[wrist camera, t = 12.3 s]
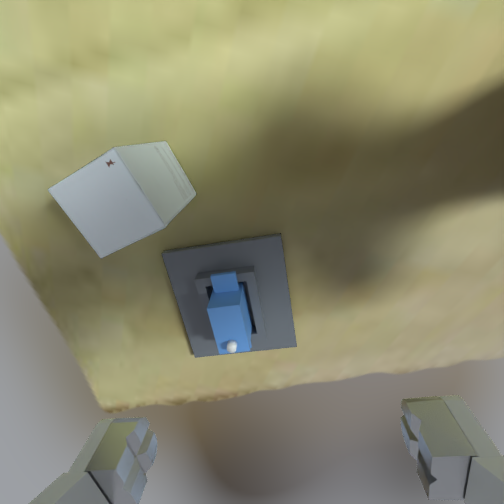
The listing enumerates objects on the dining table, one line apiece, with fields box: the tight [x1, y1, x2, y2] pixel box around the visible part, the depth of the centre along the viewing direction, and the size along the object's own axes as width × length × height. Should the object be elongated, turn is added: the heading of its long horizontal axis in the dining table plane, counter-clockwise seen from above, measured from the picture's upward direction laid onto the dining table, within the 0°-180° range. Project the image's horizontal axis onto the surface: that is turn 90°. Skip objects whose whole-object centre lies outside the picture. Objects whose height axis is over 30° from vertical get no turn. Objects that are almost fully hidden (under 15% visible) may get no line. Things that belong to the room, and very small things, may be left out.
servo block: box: [207, 271, 252, 354], centre depth 37 cm, size 4×12×7 cm, turn 10°
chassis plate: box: [162, 233, 297, 358], centre depth 40 cm, size 16×18×3 cm
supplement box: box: [48, 141, 197, 259], centre depth 29 cm, size 7×7×13 cm
